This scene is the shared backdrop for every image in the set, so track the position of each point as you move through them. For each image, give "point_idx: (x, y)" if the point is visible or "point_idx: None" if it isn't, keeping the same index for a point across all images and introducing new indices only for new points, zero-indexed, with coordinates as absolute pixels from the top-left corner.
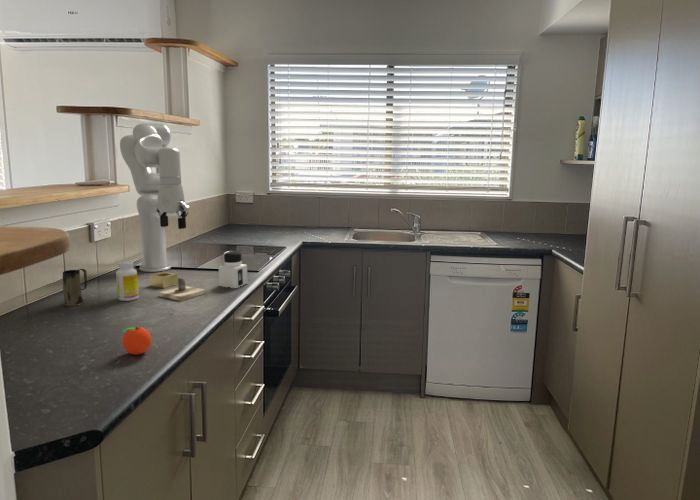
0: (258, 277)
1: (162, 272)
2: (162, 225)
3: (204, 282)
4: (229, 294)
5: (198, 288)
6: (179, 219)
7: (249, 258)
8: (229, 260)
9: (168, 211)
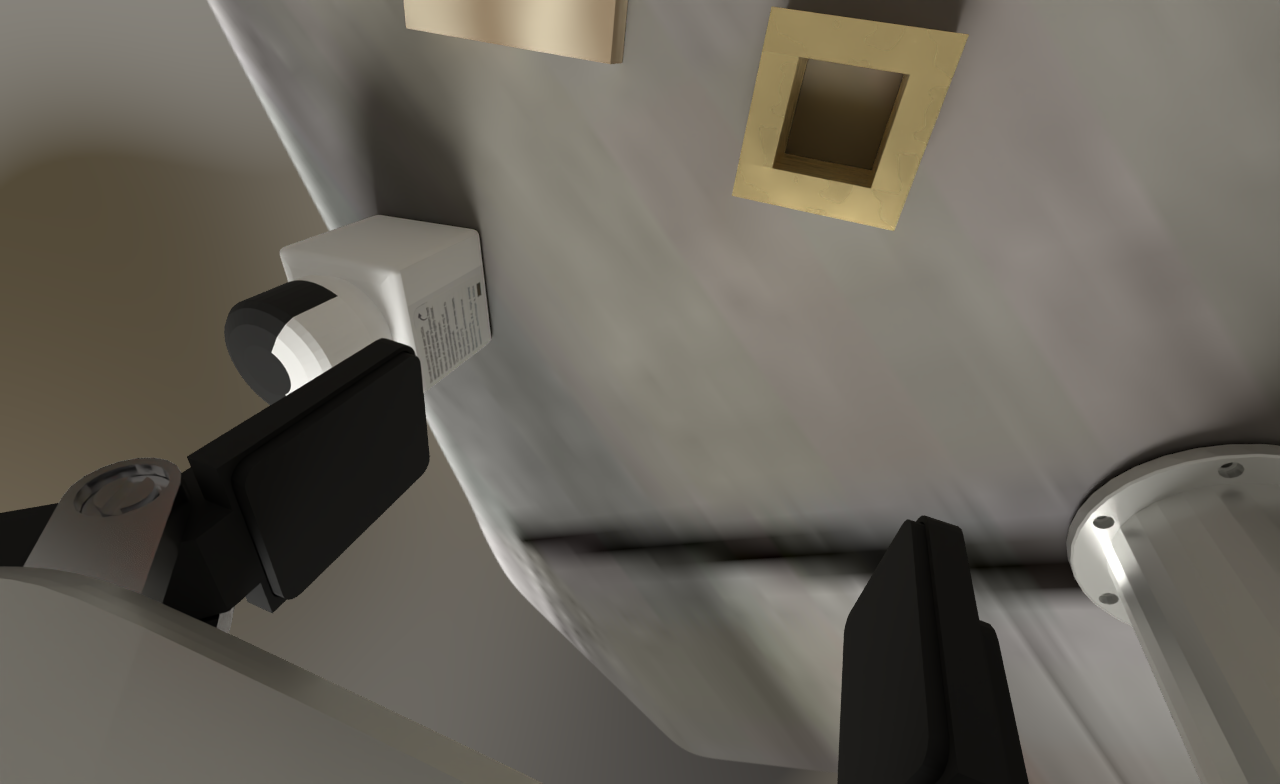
0: (449, 445)
1: (901, 197)
2: (907, 542)
3: (612, 285)
4: (315, 86)
5: (457, 32)
6: (224, 454)
7: (709, 737)
8: (279, 286)
9: (235, 702)
